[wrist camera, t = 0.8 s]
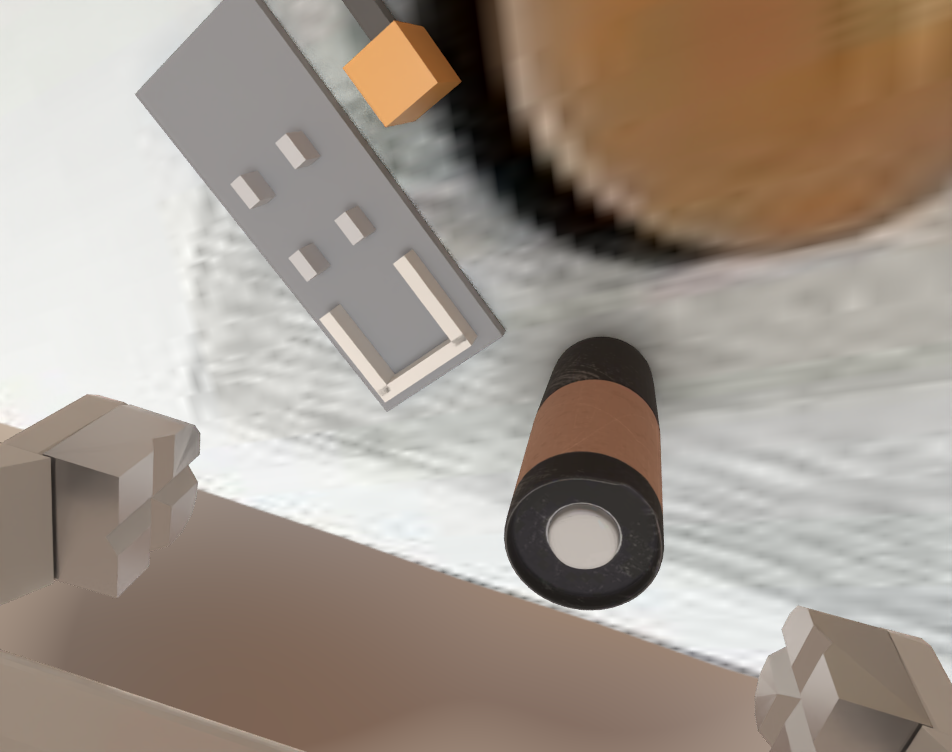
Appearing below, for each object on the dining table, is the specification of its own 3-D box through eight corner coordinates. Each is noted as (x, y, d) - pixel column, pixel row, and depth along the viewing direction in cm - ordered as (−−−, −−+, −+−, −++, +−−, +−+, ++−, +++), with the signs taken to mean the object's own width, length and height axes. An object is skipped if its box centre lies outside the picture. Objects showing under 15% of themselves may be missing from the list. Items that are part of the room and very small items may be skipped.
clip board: (250, -17, 47) (221, -24, 44) (505, 330, 52) (496, 347, 49) (145, 93, 51) (111, 95, 48) (391, 405, 56) (376, 425, 53)
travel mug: (549, 429, 54) (504, 605, 36) (547, 331, 52) (497, 470, 33) (655, 433, 53) (662, 620, 35) (659, 333, 50) (670, 479, 32)
